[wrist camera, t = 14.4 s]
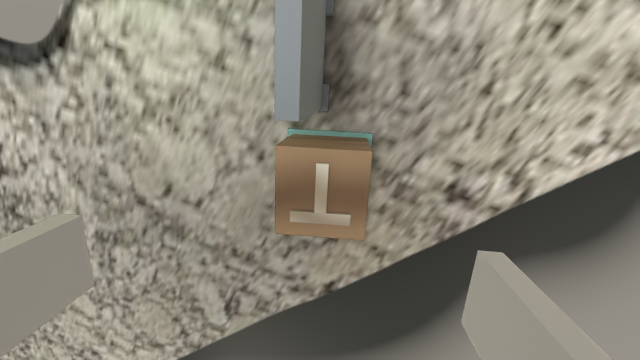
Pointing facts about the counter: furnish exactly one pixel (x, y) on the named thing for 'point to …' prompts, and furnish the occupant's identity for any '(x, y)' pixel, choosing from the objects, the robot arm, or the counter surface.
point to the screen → (300, 58)
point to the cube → (322, 186)
